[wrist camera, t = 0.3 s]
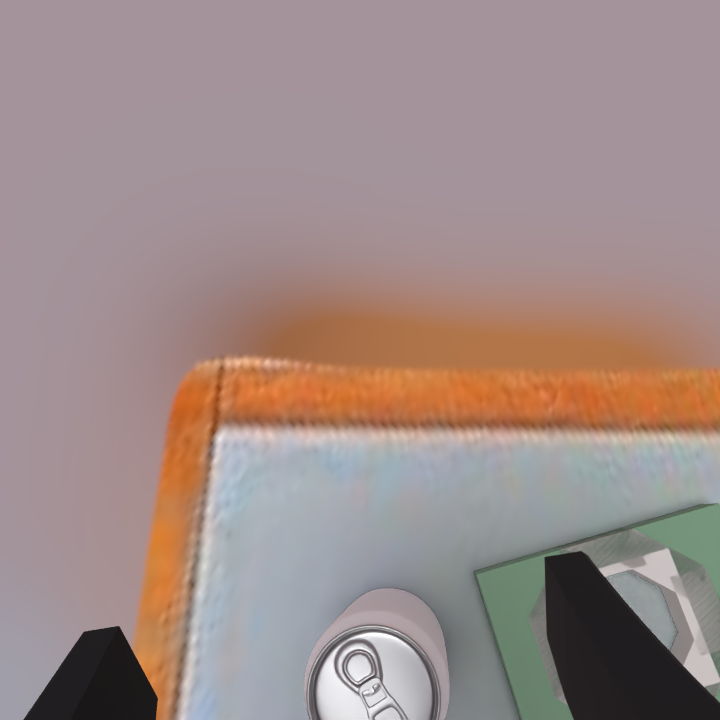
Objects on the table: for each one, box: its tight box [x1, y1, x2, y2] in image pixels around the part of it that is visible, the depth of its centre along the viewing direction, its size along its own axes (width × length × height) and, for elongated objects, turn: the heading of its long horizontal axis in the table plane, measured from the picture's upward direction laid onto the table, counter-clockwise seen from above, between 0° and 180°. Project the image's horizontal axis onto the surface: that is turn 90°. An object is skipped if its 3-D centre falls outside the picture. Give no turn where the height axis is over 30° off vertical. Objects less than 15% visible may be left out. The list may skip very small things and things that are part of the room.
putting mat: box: [474, 503, 720, 720], centre depth 36 cm, size 18×14×2 cm
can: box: [304, 588, 450, 720], centre depth 33 cm, size 6×6×12 cm
